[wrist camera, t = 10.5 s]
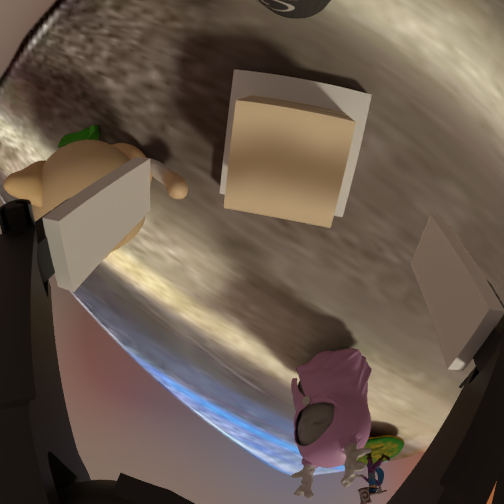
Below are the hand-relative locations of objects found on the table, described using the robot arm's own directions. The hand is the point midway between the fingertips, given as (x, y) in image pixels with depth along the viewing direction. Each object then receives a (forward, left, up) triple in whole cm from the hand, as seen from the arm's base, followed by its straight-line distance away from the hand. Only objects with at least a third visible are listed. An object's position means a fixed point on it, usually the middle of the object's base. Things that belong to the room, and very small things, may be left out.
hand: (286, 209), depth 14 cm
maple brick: (0, 0, -16) cm, 16 cm away
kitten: (+5, -17, -17) cm, 25 cm away
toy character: (+28, +10, -17) cm, 34 cm away
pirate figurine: (+51, +27, -17) cm, 61 cm away
